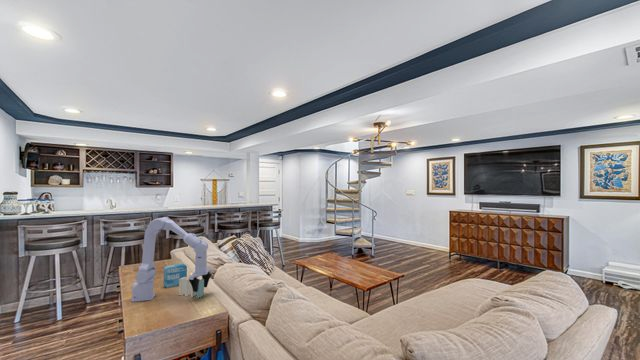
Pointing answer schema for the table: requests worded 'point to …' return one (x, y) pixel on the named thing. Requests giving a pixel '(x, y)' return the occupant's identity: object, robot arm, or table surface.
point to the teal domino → (200, 288)
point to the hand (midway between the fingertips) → (200, 289)
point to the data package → (174, 274)
